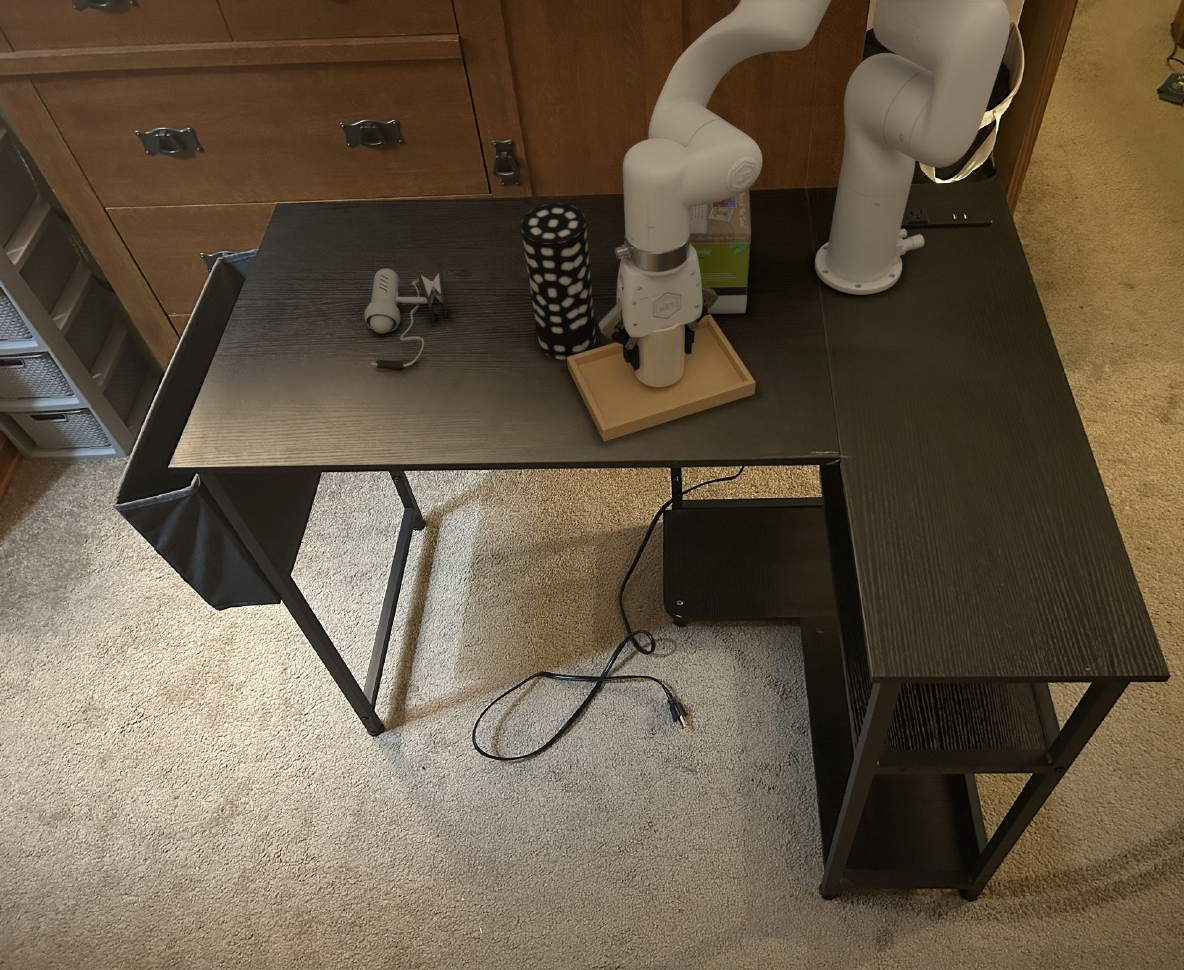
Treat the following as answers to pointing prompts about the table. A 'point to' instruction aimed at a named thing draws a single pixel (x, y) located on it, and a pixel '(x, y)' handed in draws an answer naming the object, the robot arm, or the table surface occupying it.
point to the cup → (661, 356)
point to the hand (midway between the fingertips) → (658, 354)
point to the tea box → (724, 250)
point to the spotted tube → (559, 279)
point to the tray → (638, 406)
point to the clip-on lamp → (386, 313)
